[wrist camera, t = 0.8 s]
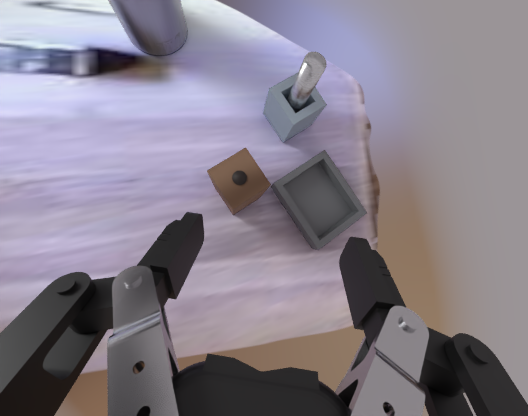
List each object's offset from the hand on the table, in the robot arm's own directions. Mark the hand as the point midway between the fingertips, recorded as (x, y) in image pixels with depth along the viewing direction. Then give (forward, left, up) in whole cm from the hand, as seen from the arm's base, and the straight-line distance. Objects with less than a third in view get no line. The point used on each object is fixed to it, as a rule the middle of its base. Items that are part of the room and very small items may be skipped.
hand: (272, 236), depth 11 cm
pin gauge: (-12, +16, -21) cm, 29 cm away
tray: (+2, +12, -21) cm, 24 cm away
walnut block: (-6, +2, -21) cm, 22 cm away
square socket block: (-12, +16, -21) cm, 29 cm away
